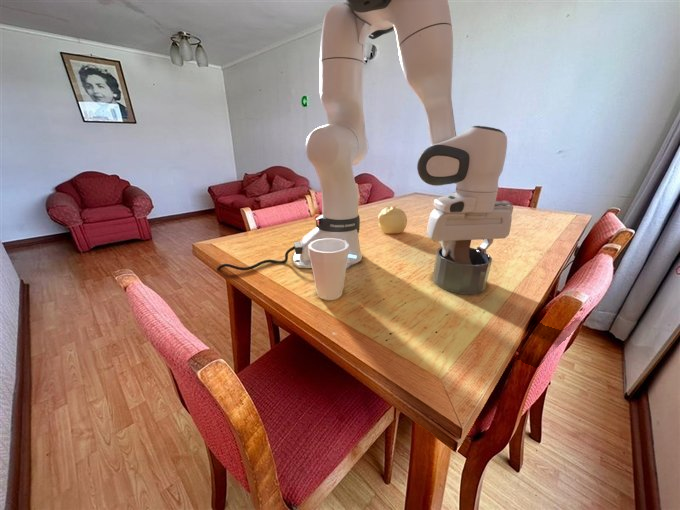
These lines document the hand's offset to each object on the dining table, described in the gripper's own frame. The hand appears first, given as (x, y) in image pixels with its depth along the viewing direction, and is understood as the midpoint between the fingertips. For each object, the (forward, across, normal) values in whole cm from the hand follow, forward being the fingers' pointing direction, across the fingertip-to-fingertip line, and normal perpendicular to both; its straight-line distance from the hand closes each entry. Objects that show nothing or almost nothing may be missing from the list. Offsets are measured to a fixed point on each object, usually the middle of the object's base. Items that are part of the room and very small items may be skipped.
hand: (463, 254), depth 68 cm
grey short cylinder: (+8, 0, -2) cm, 8 cm away
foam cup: (+8, +35, +2) cm, 36 cm away
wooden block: (+7, 0, 0) cm, 7 cm away
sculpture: (+8, +6, -44) cm, 45 cm away
